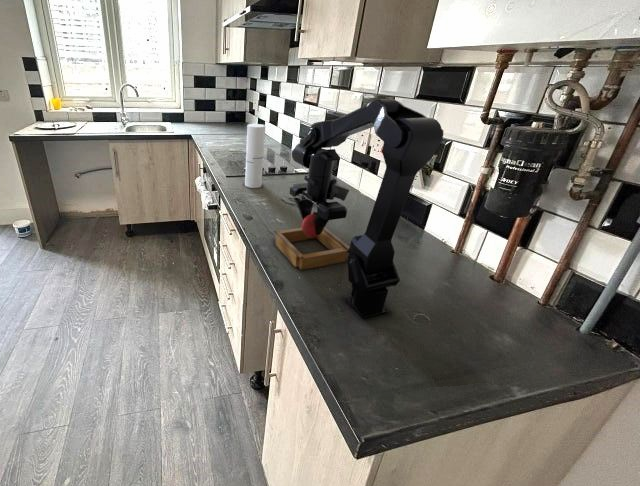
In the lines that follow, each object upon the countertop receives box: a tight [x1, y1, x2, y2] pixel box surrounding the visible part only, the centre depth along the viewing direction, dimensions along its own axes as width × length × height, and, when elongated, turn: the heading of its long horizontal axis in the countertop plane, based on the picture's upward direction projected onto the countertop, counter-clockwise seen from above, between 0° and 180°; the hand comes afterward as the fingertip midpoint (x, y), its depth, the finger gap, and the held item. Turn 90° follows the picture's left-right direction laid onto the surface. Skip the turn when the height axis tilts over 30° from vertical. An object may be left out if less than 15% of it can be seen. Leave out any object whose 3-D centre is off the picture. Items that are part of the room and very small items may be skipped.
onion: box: [301, 210, 318, 239], centre depth 87 cm, size 6×6×8 cm
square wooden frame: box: [273, 226, 350, 271], centre depth 89 cm, size 15×15×4 cm
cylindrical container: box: [244, 123, 266, 189], centre depth 133 cm, size 7×7×25 cm
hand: (312, 229), depth 87 cm, fingers closed on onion, 6 cm apart
